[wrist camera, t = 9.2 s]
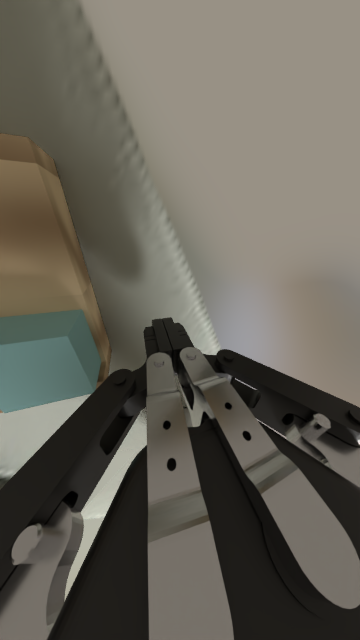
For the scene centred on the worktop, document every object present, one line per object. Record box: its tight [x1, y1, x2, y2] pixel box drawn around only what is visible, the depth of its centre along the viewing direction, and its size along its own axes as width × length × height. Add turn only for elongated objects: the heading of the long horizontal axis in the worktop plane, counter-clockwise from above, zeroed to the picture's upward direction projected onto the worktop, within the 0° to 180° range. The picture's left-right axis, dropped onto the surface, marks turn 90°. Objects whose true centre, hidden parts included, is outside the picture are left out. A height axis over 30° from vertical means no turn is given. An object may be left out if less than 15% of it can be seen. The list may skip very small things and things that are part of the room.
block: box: [0, 309, 101, 413], centre depth 10 cm, size 5×5×3 cm
